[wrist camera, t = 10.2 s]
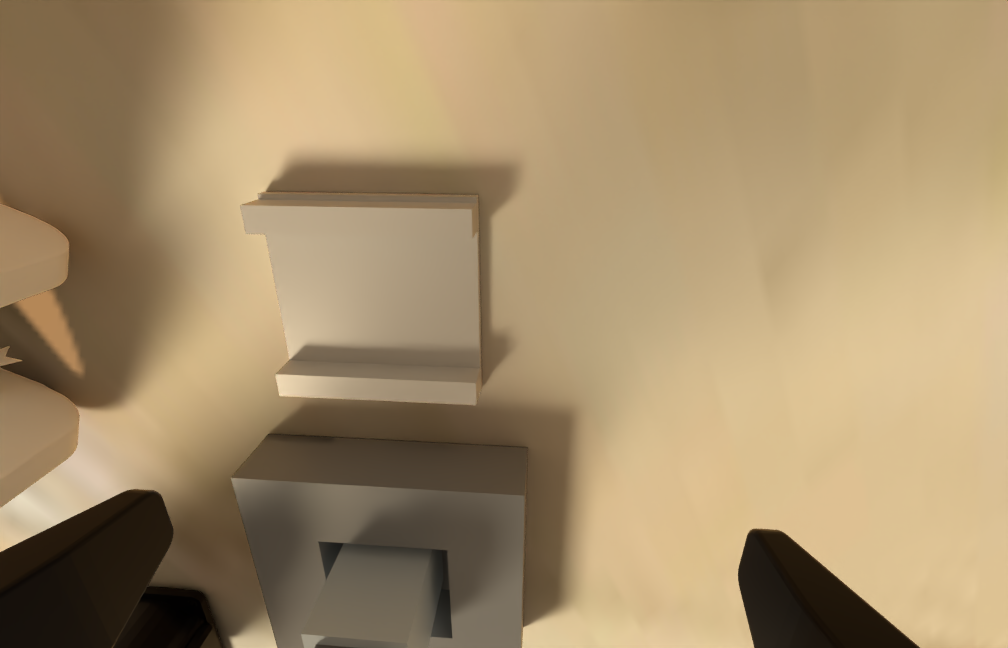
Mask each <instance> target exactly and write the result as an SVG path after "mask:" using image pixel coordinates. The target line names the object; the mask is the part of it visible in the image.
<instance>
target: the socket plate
mask: <svg viewBox="0 0 1008 648" xmlns="http://www.w3.org/2000/svg"><path fill="white" fill-rule="evenodd" d="M527 451H528V448H526V447H507V446H488V445H469V444H451V443H432V442H413V441H394V440H375V439H356V438H338V437H319V436H300V435H281V434H268V435H267V436H266V437H265V439H264V440H263V441H262V442H261V443H260V444H259V446H258V447H257V448H256V449H255V450H254V451H253V453H252V454H251V455H250V456H249V457H248V458H247V460H246V461H245V462H244V463H243V464H242V465H241V467H240V468H239V469H238V470H237V471H236V472H235V474H234V475H233V476H232V477H231V481H232V485H233V488H234V492H235V495H236V499H237V503H238V506H239V510H240V514H241V517H242V521H243V524H244V528H245V532H246V535H247V539H248V543H249V546H250V550H251V553H252V557H253V561H254V564H255V568H256V572H257V575H258V579H259V582H260V586H261V590H262V593H263V597H264V601H265V604H266V608H267V611H268V615H269V619H270V622H271V626H272V630H273V633H274V637H275V640H276V644H277V648H304V645H303V641H302V636H301V633H302V631H303V629H304V626H305V624H306V622H307V620H308V618H309V616H310V614H311V612H312V609H313V607H314V605H315V603H316V601H317V599H318V597H319V595H320V592H321V590H322V588H323V586H324V584H325V582H326V580H327V578H328V575H329V573H330V571H331V569H332V567H333V565H334V563H335V561H336V558H337V556H338V554H339V552H340V550H341V548H342V546H343V544H344V543H349V544H363V545H378V546H392V547H407V548H421V549H436V550H442V561H443V578H444V579H443V583H442V588H441V592H440V597H439V601H438V606H437V610H436V615H435V619H434V624H433V628H432V633H431V637H430V642H429V646H428V648H522V637H523V606H524V567H525V528H526V489H527Z"/></svg>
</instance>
